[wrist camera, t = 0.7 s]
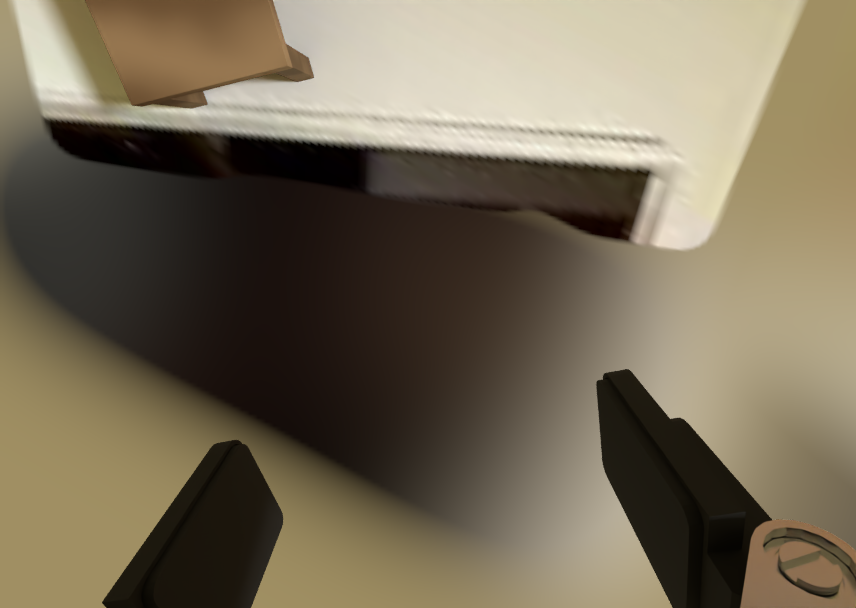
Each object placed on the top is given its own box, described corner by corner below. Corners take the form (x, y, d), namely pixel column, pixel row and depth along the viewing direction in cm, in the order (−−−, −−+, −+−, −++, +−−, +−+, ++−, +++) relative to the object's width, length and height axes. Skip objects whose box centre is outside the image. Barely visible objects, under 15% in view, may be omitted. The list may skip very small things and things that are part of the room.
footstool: (125, -53, 29) (37, -107, 23) (268, -96, 28) (218, -165, 22) (190, 111, 33) (132, 105, 27) (317, 79, 32) (287, 65, 26)
